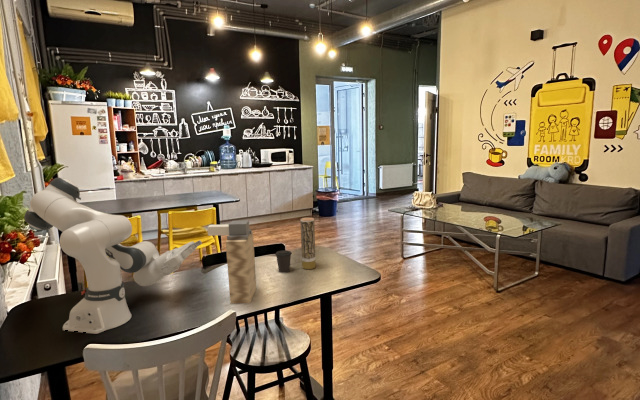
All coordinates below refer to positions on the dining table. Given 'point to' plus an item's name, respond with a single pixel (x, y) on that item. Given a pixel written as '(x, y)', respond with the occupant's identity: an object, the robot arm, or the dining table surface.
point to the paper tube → (308, 243)
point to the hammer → (230, 229)
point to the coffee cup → (283, 260)
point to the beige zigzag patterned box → (241, 268)
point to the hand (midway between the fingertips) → (197, 245)
